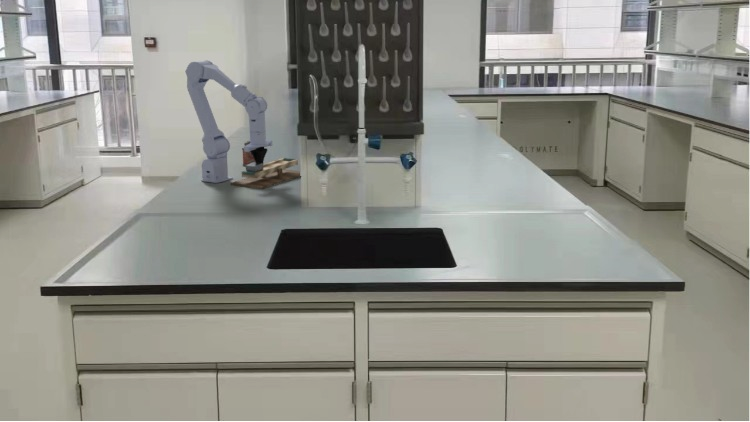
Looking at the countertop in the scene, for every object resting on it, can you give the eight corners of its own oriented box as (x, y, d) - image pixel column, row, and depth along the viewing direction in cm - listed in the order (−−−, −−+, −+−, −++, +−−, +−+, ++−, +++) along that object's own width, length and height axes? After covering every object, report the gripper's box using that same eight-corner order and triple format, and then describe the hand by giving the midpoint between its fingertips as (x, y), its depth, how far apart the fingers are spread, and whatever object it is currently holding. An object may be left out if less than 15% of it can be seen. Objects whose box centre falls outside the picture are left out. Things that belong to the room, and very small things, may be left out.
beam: (256, 178, 258) (256, 172, 257) (241, 177, 261) (240, 171, 260) (298, 164, 280) (297, 158, 279) (283, 162, 283) (283, 157, 283)
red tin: (246, 166, 296) (245, 142, 293) (240, 165, 298) (239, 141, 295) (260, 163, 302) (259, 140, 299) (255, 162, 304) (254, 139, 301)
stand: (261, 188, 255) (261, 176, 254) (230, 184, 262) (230, 173, 261) (308, 174, 281) (308, 163, 280) (279, 170, 287) (278, 159, 286)
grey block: (255, 174, 259) (254, 166, 258) (246, 173, 261) (245, 165, 260) (263, 170, 263) (262, 162, 262) (254, 169, 265) (253, 161, 264)
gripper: (254, 134, 252) (256, 172, 256) (278, 129, 265) (279, 165, 268) (238, 133, 256) (240, 170, 259) (262, 128, 268) (264, 163, 272)
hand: (259, 168), depth 264 cm, fingers closed, pressing on grey block
